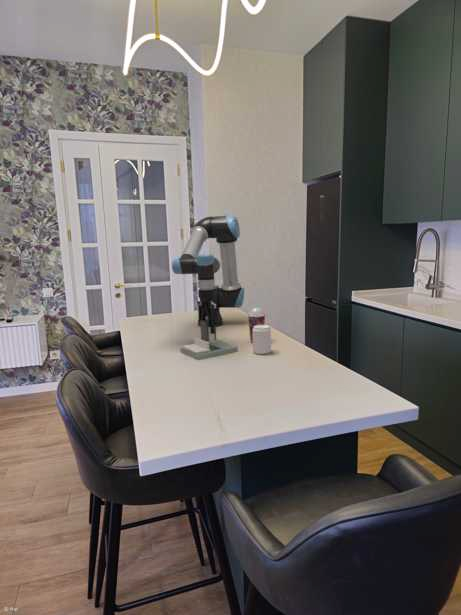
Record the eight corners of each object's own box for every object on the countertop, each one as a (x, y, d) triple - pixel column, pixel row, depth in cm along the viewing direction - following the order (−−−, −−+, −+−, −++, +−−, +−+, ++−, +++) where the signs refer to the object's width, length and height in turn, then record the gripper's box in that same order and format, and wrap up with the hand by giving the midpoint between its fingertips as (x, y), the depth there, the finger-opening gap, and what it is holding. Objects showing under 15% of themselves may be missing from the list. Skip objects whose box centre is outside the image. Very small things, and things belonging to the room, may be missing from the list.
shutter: (195, 345, 188) (195, 337, 187) (210, 351, 177) (210, 342, 177) (182, 347, 184) (182, 339, 183) (196, 354, 173) (196, 345, 173)
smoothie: (265, 339, 203) (265, 300, 199) (265, 343, 195) (264, 303, 191) (249, 339, 204) (248, 300, 200) (248, 344, 196) (247, 303, 192)
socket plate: (218, 344, 197) (218, 340, 197) (237, 351, 184) (237, 346, 184) (180, 352, 185) (180, 347, 185) (198, 360, 172) (197, 355, 172)
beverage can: (269, 355, 176) (269, 328, 174) (251, 354, 178) (251, 328, 176) (271, 350, 184) (271, 324, 182) (254, 349, 185) (253, 324, 183)
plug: (210, 338, 187) (209, 314, 185) (216, 340, 183) (215, 316, 181) (201, 339, 184) (200, 316, 182) (206, 341, 180) (205, 317, 178)
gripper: (189, 288, 185) (191, 337, 189) (210, 291, 170) (212, 344, 174) (203, 286, 189) (205, 334, 193) (224, 289, 174) (226, 341, 178)
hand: (208, 339), depth 183 cm, fingers closed on plug, 5 cm apart
